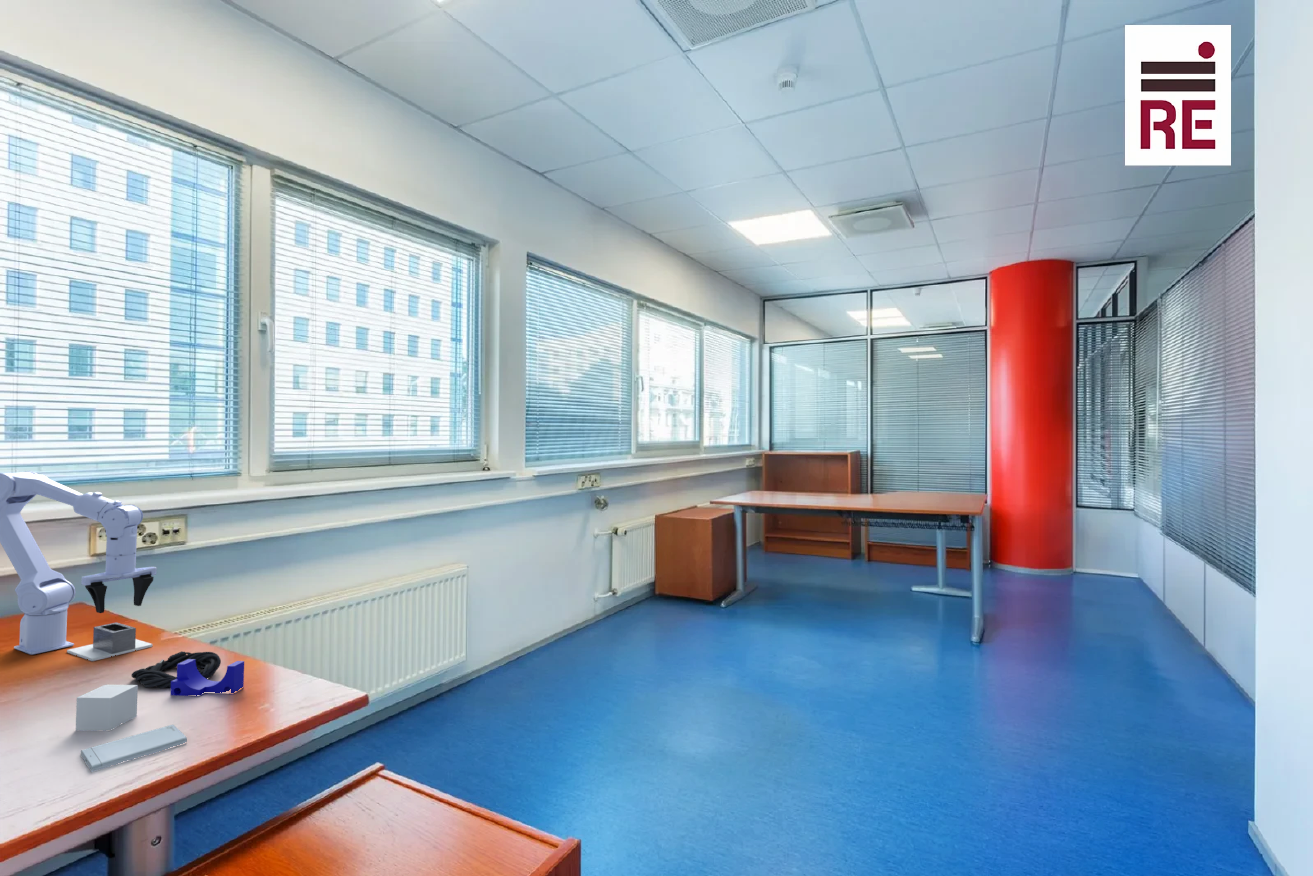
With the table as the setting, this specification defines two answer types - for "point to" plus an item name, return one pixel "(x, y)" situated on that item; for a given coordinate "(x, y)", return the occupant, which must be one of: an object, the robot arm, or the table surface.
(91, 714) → the light grey cube
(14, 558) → the robot arm
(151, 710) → the table surface
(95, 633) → the grey open storage bin
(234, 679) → the cable clip
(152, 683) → the cable
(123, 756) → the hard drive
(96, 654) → the keeper plate
